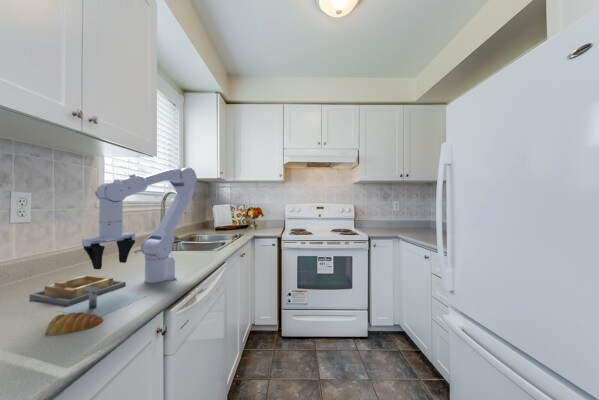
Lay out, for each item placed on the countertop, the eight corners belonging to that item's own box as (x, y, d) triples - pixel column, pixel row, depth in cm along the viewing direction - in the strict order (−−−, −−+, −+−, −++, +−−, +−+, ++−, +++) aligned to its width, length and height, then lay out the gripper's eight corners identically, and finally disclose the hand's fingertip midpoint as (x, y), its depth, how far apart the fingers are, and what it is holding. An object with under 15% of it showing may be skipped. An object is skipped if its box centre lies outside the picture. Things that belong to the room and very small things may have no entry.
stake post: (90, 305, 65) (90, 286, 65) (101, 307, 64) (101, 287, 64) (83, 308, 64) (84, 288, 64) (95, 310, 63) (95, 289, 63)
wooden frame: (87, 284, 82) (87, 270, 82) (112, 288, 79) (113, 273, 79) (44, 298, 71) (44, 281, 71) (71, 302, 68) (71, 285, 68)
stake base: (111, 294, 76) (111, 291, 76) (146, 299, 72) (146, 296, 72) (55, 314, 62) (55, 310, 62) (95, 322, 58) (95, 318, 58)
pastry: (108, 321, 60) (109, 305, 60) (92, 336, 53) (92, 319, 53) (63, 325, 57) (63, 309, 57) (40, 342, 51) (40, 324, 51)
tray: (90, 283, 85) (90, 277, 85) (125, 288, 80) (125, 281, 80) (29, 302, 69) (29, 294, 69) (68, 309, 65) (68, 301, 65)
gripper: (124, 219, 82) (123, 258, 82) (74, 223, 68) (74, 270, 68) (140, 219, 80) (139, 260, 80) (92, 224, 66) (92, 273, 66)
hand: (110, 265), depth 74 cm, fingers open, 7 cm apart
